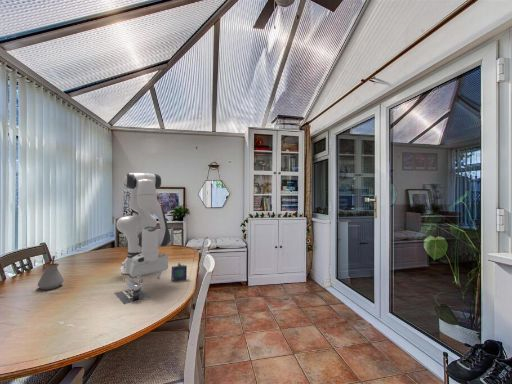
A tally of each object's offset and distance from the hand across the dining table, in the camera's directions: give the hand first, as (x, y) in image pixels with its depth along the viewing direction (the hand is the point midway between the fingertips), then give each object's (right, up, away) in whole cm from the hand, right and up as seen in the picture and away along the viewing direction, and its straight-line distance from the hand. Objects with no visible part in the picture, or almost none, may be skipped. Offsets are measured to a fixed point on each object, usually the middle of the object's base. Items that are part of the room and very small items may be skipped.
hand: (149, 280), depth 135 cm
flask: (+11, -6, +17) cm, 22 cm away
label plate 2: (-5, -5, -9) cm, 11 cm away
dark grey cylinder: (-1, -4, -13) cm, 14 cm away
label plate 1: (-9, -5, -5) cm, 11 cm away
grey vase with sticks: (-61, -5, +8) cm, 62 cm away
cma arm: (-6, 0, -8) cm, 10 cm away
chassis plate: (-6, -6, -8) cm, 12 cm away
